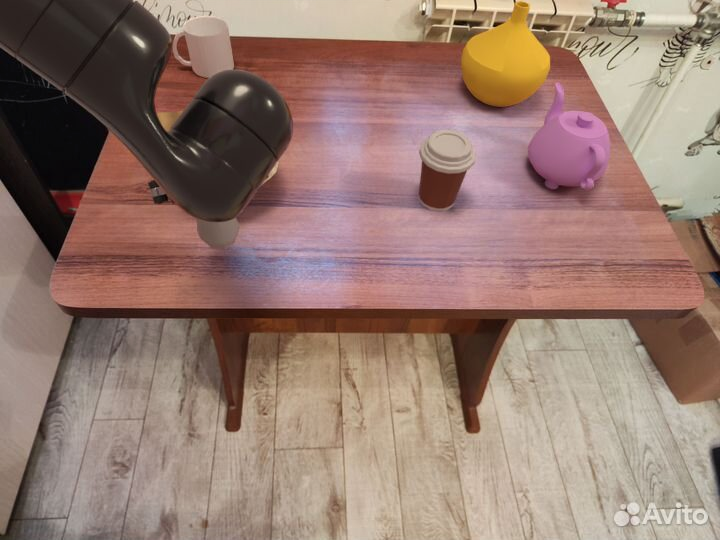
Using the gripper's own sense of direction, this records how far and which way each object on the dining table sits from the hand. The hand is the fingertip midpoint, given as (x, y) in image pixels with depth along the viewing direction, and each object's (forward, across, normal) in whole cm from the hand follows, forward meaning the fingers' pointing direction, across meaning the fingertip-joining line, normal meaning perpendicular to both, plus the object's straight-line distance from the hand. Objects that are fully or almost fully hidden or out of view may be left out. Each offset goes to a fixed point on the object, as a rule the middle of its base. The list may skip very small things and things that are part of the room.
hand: (207, 187), depth 66 cm
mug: (+47, -10, -28) cm, 56 cm away
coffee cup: (+8, -38, +10) cm, 40 cm away
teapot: (+7, -64, +11) cm, 65 cm away
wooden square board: (+32, +1, -14) cm, 35 cm away
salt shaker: (+5, 0, +8) cm, 9 cm away
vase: (+25, -67, -7) cm, 72 cm away
